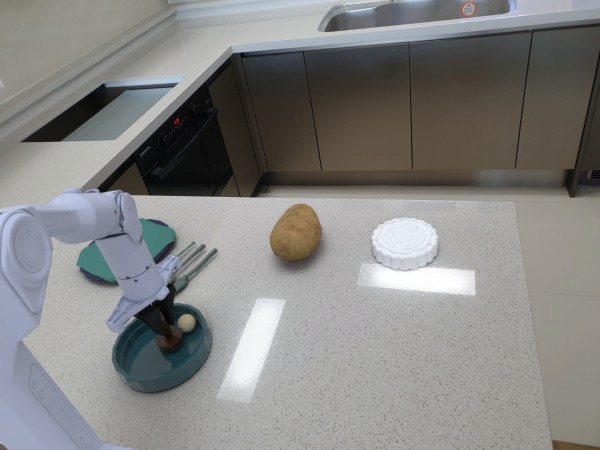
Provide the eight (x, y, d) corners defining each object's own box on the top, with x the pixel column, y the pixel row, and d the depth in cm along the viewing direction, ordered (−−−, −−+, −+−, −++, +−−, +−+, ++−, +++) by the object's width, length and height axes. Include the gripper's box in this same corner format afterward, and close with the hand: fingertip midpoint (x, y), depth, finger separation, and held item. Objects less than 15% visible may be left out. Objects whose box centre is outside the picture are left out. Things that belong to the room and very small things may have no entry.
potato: (330, 227, 95) (325, 195, 90) (317, 274, 84) (310, 241, 79) (285, 226, 98) (278, 195, 93) (267, 272, 87) (258, 240, 82)
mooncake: (385, 224, 92) (384, 210, 90) (445, 235, 87) (446, 220, 85) (362, 262, 85) (360, 248, 83) (426, 277, 79) (426, 262, 77)
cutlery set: (135, 217, 110) (132, 209, 109) (227, 249, 95) (224, 240, 93) (64, 269, 98) (59, 261, 97) (155, 316, 82) (151, 307, 81)
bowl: (158, 411, 67) (150, 398, 65) (102, 365, 75) (93, 352, 73) (231, 338, 75) (225, 324, 73) (173, 305, 84) (166, 291, 82)
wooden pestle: (173, 355, 73) (155, 318, 68) (153, 349, 75) (133, 312, 70) (190, 335, 76) (173, 298, 71) (169, 328, 78) (151, 292, 73)
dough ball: (189, 317, 75) (202, 318, 78) (178, 310, 77) (191, 311, 79) (182, 335, 75) (195, 335, 77) (171, 327, 77) (184, 328, 79)
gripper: (118, 308, 59) (155, 371, 67) (184, 238, 69) (210, 301, 77) (80, 297, 62) (120, 359, 70) (149, 231, 72) (177, 292, 80)
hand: (165, 328), depth 74 cm, fingers closed on wooden pestle
